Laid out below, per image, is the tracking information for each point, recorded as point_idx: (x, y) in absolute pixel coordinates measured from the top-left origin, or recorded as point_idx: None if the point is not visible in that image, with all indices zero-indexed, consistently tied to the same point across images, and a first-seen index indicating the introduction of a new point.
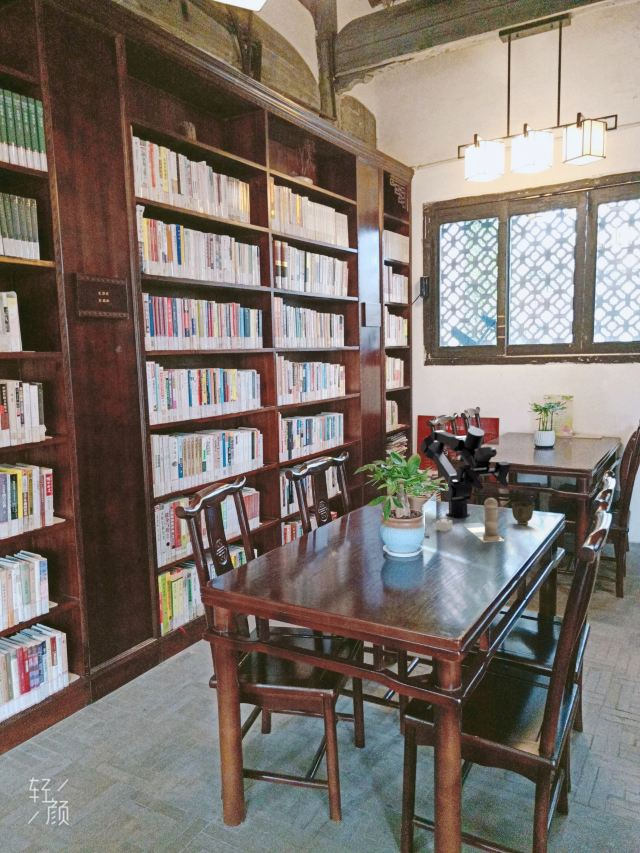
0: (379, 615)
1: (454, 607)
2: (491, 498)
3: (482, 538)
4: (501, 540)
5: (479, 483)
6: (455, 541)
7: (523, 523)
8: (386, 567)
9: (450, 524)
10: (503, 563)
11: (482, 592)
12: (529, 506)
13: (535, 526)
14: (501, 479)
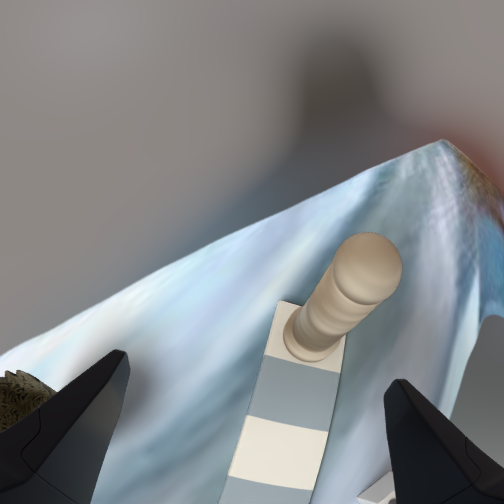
0: (495, 190)
1: (445, 163)
2: (383, 241)
3: (333, 354)
4: (288, 307)
5: (431, 408)
6: None
7: None
8: None
9: (382, 492)
10: (356, 208)
11: (416, 165)
12: (27, 373)
13: None
14: (81, 461)
